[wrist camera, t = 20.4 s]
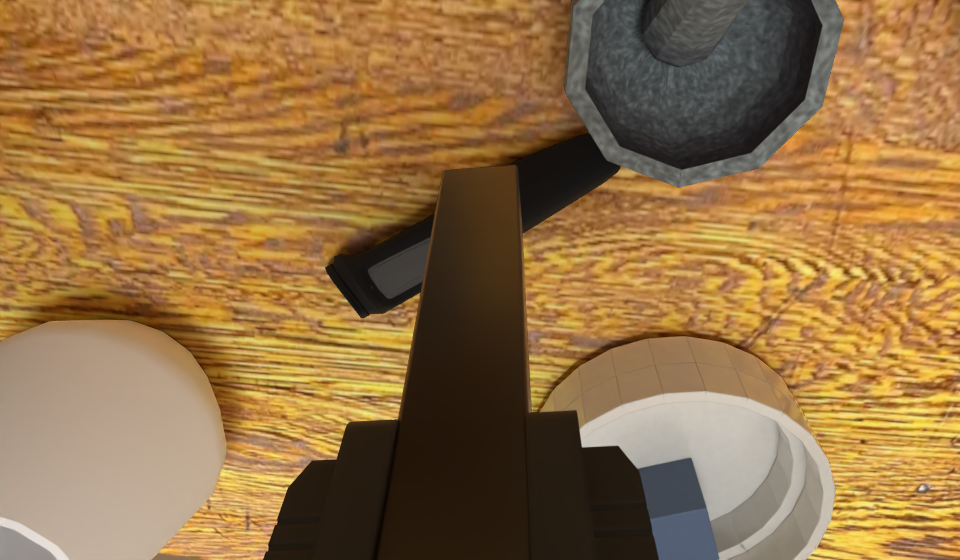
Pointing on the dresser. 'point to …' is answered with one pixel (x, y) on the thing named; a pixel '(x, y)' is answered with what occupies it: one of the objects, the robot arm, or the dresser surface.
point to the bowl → (712, 437)
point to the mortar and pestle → (698, 80)
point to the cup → (102, 441)
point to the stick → (465, 385)
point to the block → (678, 512)
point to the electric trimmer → (402, 258)
